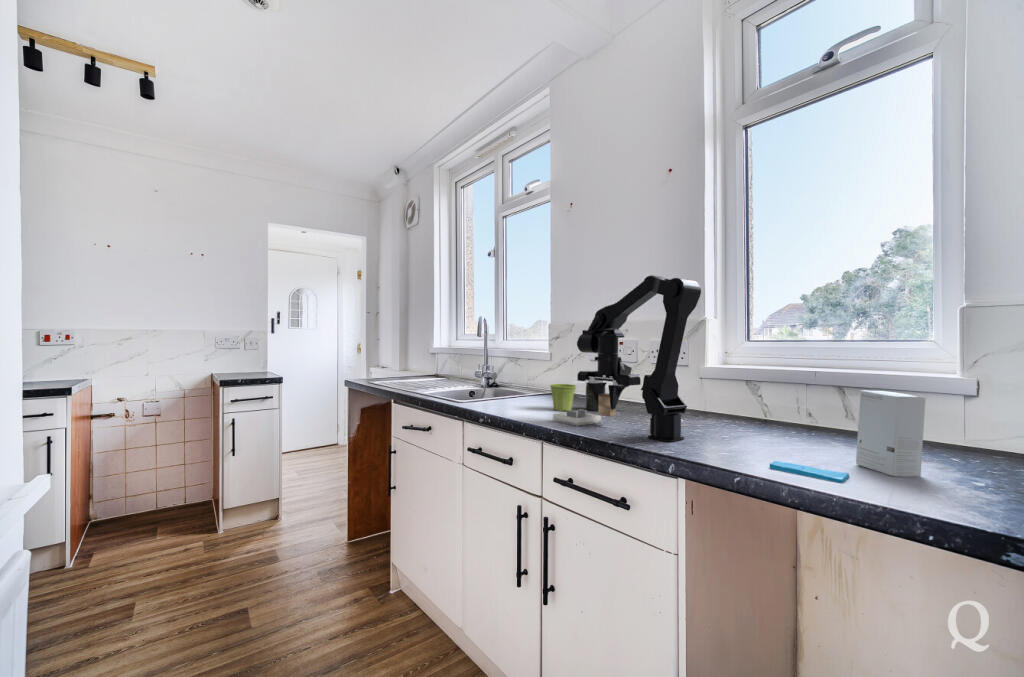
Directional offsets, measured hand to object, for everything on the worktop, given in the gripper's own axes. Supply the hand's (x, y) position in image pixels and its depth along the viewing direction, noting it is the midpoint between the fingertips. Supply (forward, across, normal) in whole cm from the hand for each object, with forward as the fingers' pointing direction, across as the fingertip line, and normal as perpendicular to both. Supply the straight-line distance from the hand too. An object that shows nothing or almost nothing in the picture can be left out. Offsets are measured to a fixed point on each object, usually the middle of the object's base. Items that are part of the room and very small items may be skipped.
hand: (607, 408), depth 128 cm
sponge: (+6, -52, +6) cm, 53 cm away
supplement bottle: (+5, +22, -20) cm, 30 cm away
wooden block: (+2, 0, 0) cm, 2 cm away
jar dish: (+5, +9, +3) cm, 11 cm away
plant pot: (+5, +28, -10) cm, 30 cm away
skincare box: (+5, -61, -8) cm, 62 cm away
